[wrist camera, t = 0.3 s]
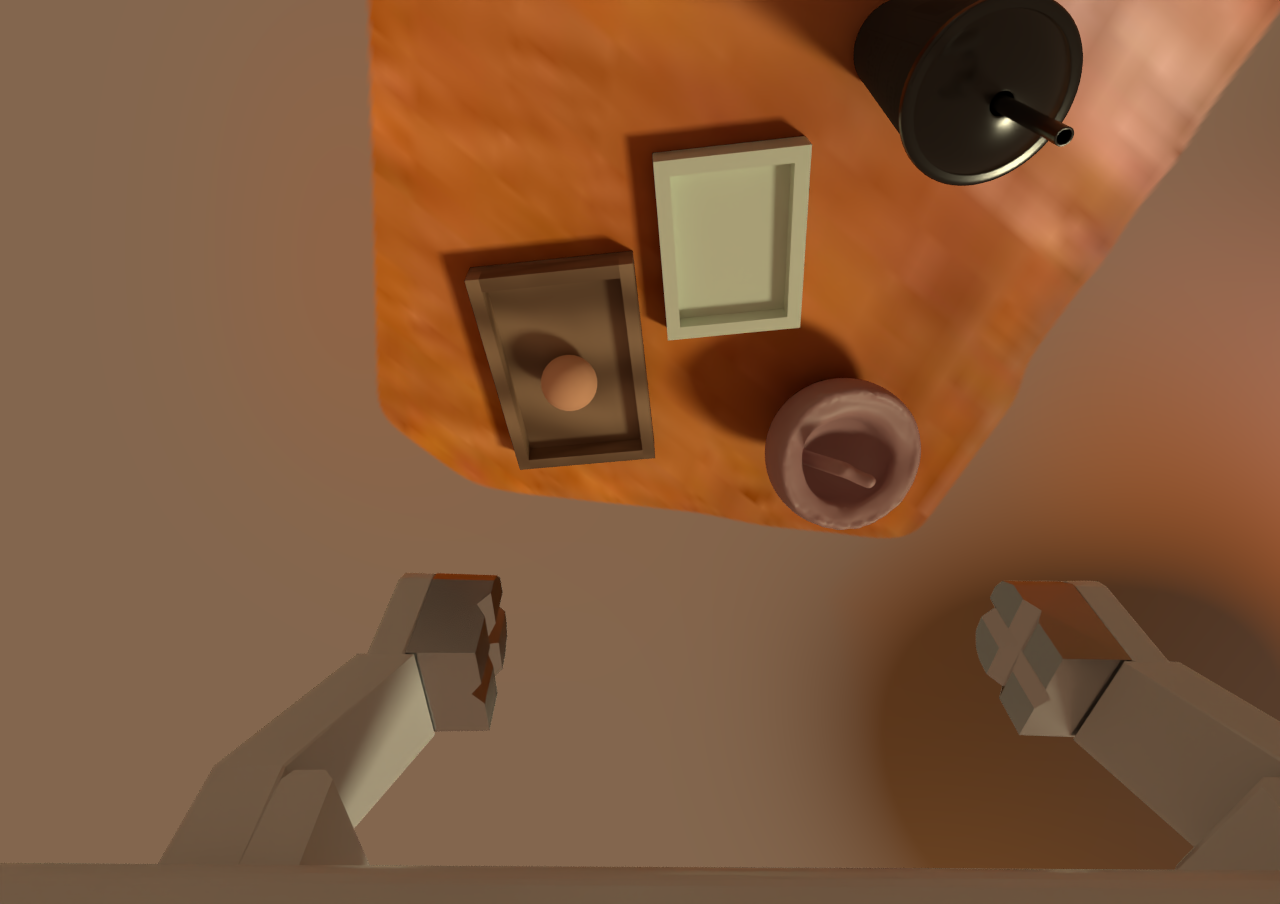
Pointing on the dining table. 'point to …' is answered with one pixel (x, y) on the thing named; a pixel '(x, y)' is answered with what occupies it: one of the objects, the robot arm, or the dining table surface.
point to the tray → (733, 236)
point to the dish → (566, 325)
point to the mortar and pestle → (842, 452)
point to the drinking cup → (972, 81)
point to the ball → (569, 382)
